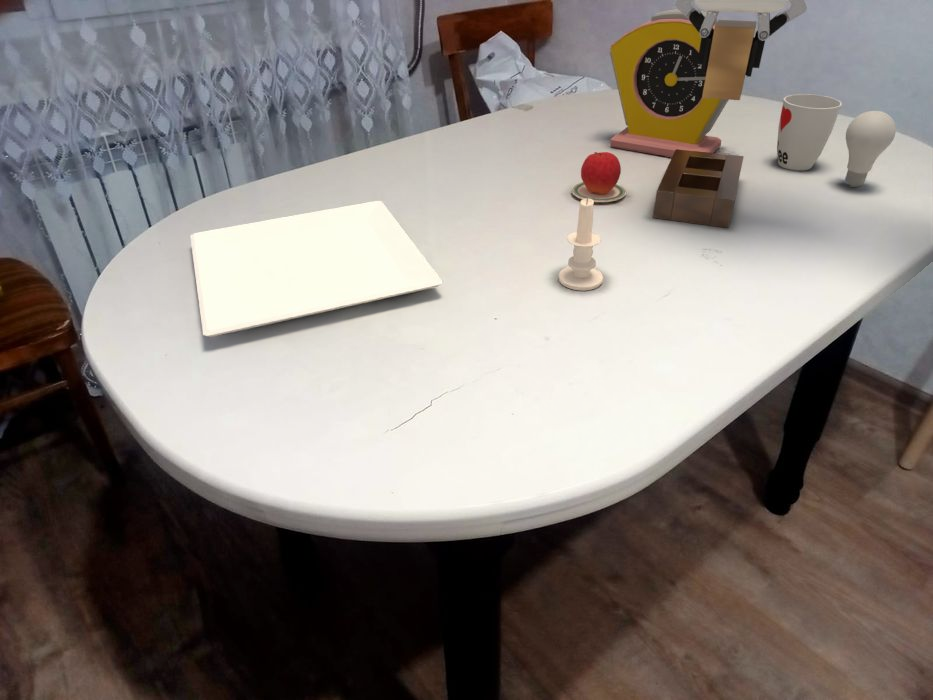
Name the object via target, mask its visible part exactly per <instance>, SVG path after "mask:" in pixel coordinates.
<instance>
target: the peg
mask: <svg viewBox="0 0 933 700" xmlns="http://www.w3.org/2000/svg"><path fill="white" fill-rule="evenodd" d="M757 24H758V21H756V20H735V19H734V20H732V19H731V20H730V19H717V23H716V25H715V28H714V34H713V39H712V45H711V50H710V56H709V62H708V67H707V73H706V78H705V84H704V89H703V95H702V97H703V98H715V99H729V100H730V101H740V100H741V97H742V93H743V88H744V83H745V79H746V75H745V74H746V69H747V65H748V60H749V55H750V50H751V46H752V41H753V37H755V34H756V29H757V28H756V27H757ZM729 100H728V101H729Z"/></svg>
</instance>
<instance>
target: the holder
mask: <svg viewBox="0 0 933 700" xmlns="http://www.w3.org/2000/svg"><path fill="white" fill-rule="evenodd" d="M744 157H745V156H744V155H736V154H726V153H717V152H714V153H708V152H698V151H688V150H678V149H676V150H675V152H674V154H673V156H672V158H671V157H670V161H669V163H668V165H667V167H666V169H665V172H664V174H663V176H662V178H661V181H660V182H659V184H658V187H657V189H656V193H655V200H654V205H653V212H652V213H653V214H652V218H653V219H659V220H667V221H674V222H680V223H681V222H682V223H688V224H696V225H702V226H703V225H704V226H709V227H717V228H725V229H729V227H730V224H731V223H730V222H731V219H732V214H733V209H734V205H735V201H736V196H737V191H738V186H739V181H740V176H741V172H742V171H741V170H742V166H743V161H744Z"/></svg>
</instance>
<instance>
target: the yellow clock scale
mask: <svg viewBox="0 0 933 700" xmlns="http://www.w3.org/2000/svg"><path fill="white" fill-rule="evenodd" d="M700 11H701V13H702V14H703V15H704V17H705V16H706V14H707V11H704V10H700ZM717 21H718V17H717V18H716V20H715V23H714V25H713V29H714V28H715V25H716V23H717ZM713 34H714V33H713ZM700 43H701V36H700V34H699V32H698V31H697V30H696V28H695V27H694V26H693V24H692V23H691V22H690V20H689V19H688V18H687V17H686V16H685V15H684V14H682V13H681V12H680V11H679V10H678V9H677V8H673V9H667V10H664V11H659V12H657V13H655V14H653V15H652V16H651V19H650V20H649V21H647V22H644V23H642V24H640V25H638V26H636V27H635V28H632V29H631V30H629V31H627V32H625V33H624V34H623V35H621V36H620V37H619V38H617V39H616V40H615V41H614V42H613V43H612V44H611V45H610V48H609V49H610V51H609V56H610V59H611V65H612V69H613V74H614V78H615V82H616V88H617V91H618V96H619V100H620V105H621V108H622V114H623V118H624V122H625V126H627V127H625V128H624V129H622V130H621V131H619V132H618V133H617V134H615V135H614V136H613V137H611V138H610V143H609V145H610V147H611V148H614V149H619V150H626V151H631V152H636V153H637V152H638V153H641V154H649V155H655V156H661V157H666V158H670V159H671V158H672V156H673V154H674V152H675V150H676V149H678V150H688V151H698V152H708V153H716V151H717V150H718V149H719V148H720V147H721V146H722V139H721V138H720V137H718V136H712V135H707V134H708V133H710V132H711V130H712V128H713V127H714V125H715V124H716V122H717V120H718V119H719V117H720V115H721V113H722V112H723V110H724V108H725V107H726V105H727V104H728V103H729V99H715V98H703V97H702V95H703V89H704V84H705V78H706V73H705V74H701V69H702V65H699V64H697V60H698V54H699V49H700Z"/></svg>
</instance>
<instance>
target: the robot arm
mask: <svg viewBox="0 0 933 700" xmlns="http://www.w3.org/2000/svg"><path fill="white" fill-rule="evenodd" d="M789 2H790V5H789V6H788V7H787V5H788V3H789ZM807 6H808V5H807V3H806V0H694V3H693V0H677V1H676V3H675V9H678V10H679V11H680V12H681V13H682V14H684V15H685V16H686V17H687V18H688V19H689V20H690V22H691V23H692V24H693V26H694V27H695V28H696V30H697V31H698V32H699V34H700V36H701V43H700V49H699V54H698V60H697V64H699V65H702V69H701V74H705V73H707V67H708V62H709V56H710V50H711V45H712V39H713V33H714V29H713V25H714V23H715V20H716V18H717V19H718V16H719V13H720V12H727V13H728V12H732V13H757V30H755V33H754V37H753V41H752V46H751V50H750V55H749V60H748V65H747V69H746V74H745V76H746V77H747V78H748V77H750V78H751V77H752V74H753V69H760V66H761V62H762V57H763V52H764V48H765V43H766V40H768V39H769V38H770V37H771V36H772V35H773V34H774V33H776V32H777V31H779V30H780V29H781V28H782V27H783V26H785V24H787V23H789V22H791V21H793V20H794V19H796V18H798V17H799V16H801V15H803V14H804V13H805V12H807V9H808V7H807ZM785 7H787V8H785ZM698 8H699V9H698ZM784 8H785V10H783V9H784ZM700 9H701V10H700ZM781 10H783V11H781ZM701 11H706V12H707V14H706V16H705V17H704V15H703V14H702V13H701ZM778 11H779V13H777V12H778ZM780 11H781V12H780ZM775 12H776V13H777V14H776V15H775V16H774V17H772V18H771V13H775Z"/></svg>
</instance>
